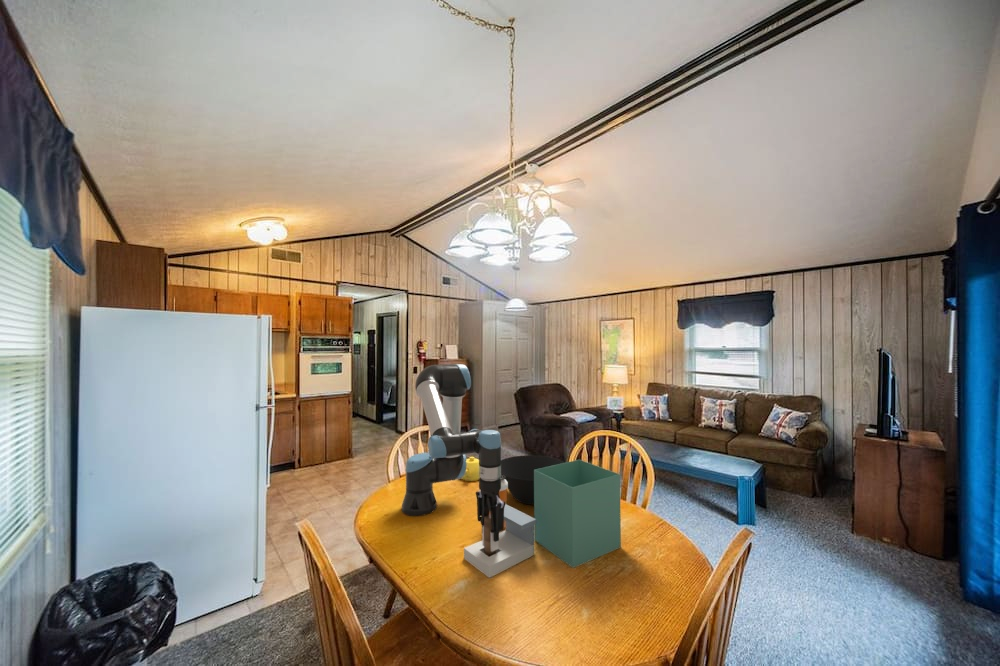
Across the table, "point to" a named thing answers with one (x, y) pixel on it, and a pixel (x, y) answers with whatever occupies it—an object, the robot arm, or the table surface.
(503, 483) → the shaker bottle
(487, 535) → the peg
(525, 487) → the bowl
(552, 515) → the box
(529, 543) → the socket station
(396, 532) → the table surface
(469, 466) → the teapot
